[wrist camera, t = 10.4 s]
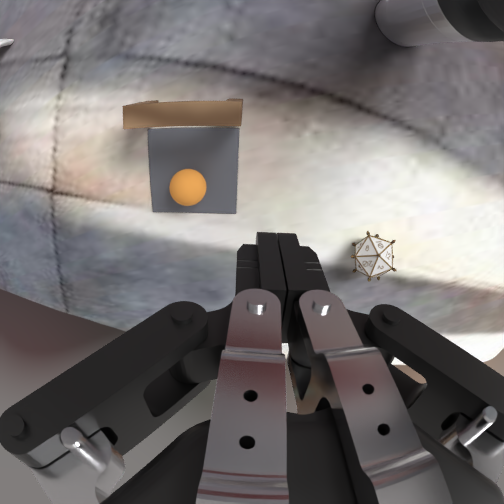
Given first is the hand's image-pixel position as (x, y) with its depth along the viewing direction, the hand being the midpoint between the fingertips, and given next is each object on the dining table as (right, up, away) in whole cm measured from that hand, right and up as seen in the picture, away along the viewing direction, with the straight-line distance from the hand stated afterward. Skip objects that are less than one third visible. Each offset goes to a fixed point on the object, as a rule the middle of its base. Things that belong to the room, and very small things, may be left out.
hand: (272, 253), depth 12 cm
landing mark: (-10, +13, +33) cm, 37 cm away
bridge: (-10, +21, +28) cm, 36 cm away
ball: (-10, +10, +32) cm, 35 cm away
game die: (+20, +1, +41) cm, 46 cm away
